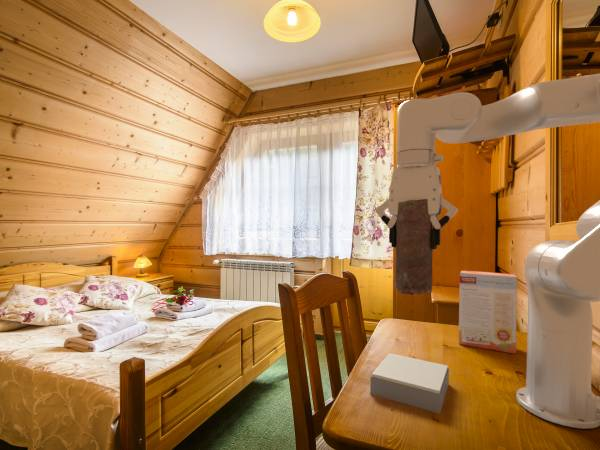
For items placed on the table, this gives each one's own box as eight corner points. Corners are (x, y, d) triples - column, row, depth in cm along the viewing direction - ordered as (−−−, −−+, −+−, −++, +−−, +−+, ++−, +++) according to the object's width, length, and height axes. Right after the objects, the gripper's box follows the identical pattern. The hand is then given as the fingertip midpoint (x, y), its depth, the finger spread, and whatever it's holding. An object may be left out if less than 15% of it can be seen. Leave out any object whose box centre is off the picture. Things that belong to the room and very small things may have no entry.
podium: (448, 384, 71) (448, 365, 71) (440, 413, 60) (440, 391, 60) (388, 369, 77) (388, 352, 77) (370, 393, 66) (370, 373, 66)
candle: (436, 299, 64) (437, 196, 64) (397, 297, 65) (398, 196, 65) (427, 291, 72) (428, 199, 72) (392, 290, 73) (393, 199, 73)
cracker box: (515, 347, 93) (516, 273, 93) (516, 355, 88) (517, 276, 87) (459, 338, 100) (461, 269, 100) (458, 344, 95) (459, 271, 95)
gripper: (463, 161, 67) (462, 249, 67) (379, 168, 76) (378, 245, 76) (460, 155, 61) (458, 251, 61) (368, 162, 69) (367, 246, 69)
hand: (413, 247), depth 68 cm, fingers closed on candle, 7 cm apart
